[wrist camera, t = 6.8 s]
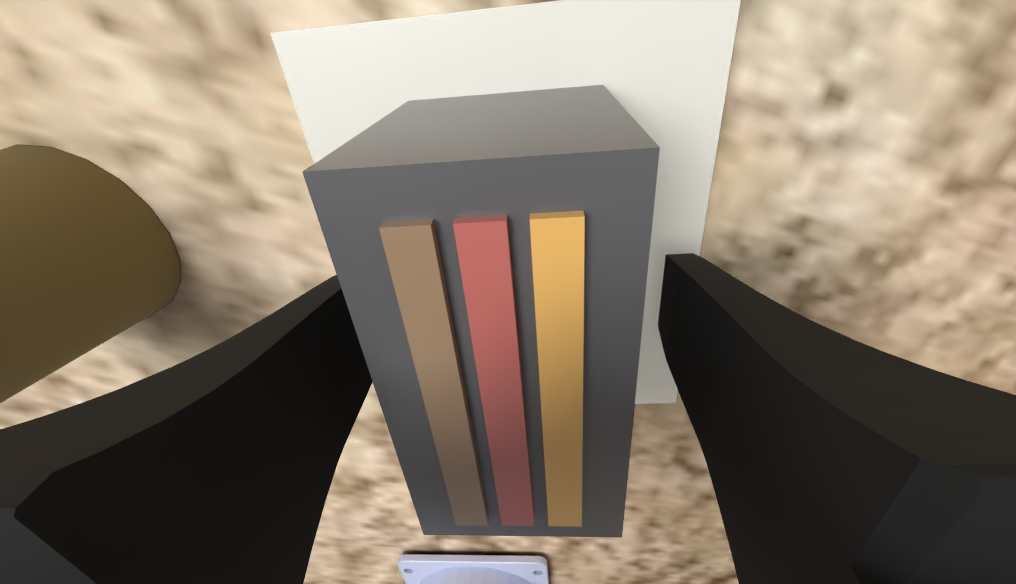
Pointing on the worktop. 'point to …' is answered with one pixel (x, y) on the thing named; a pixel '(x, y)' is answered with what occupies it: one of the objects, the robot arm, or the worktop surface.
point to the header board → (537, 66)
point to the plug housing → (500, 300)
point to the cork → (72, 262)
